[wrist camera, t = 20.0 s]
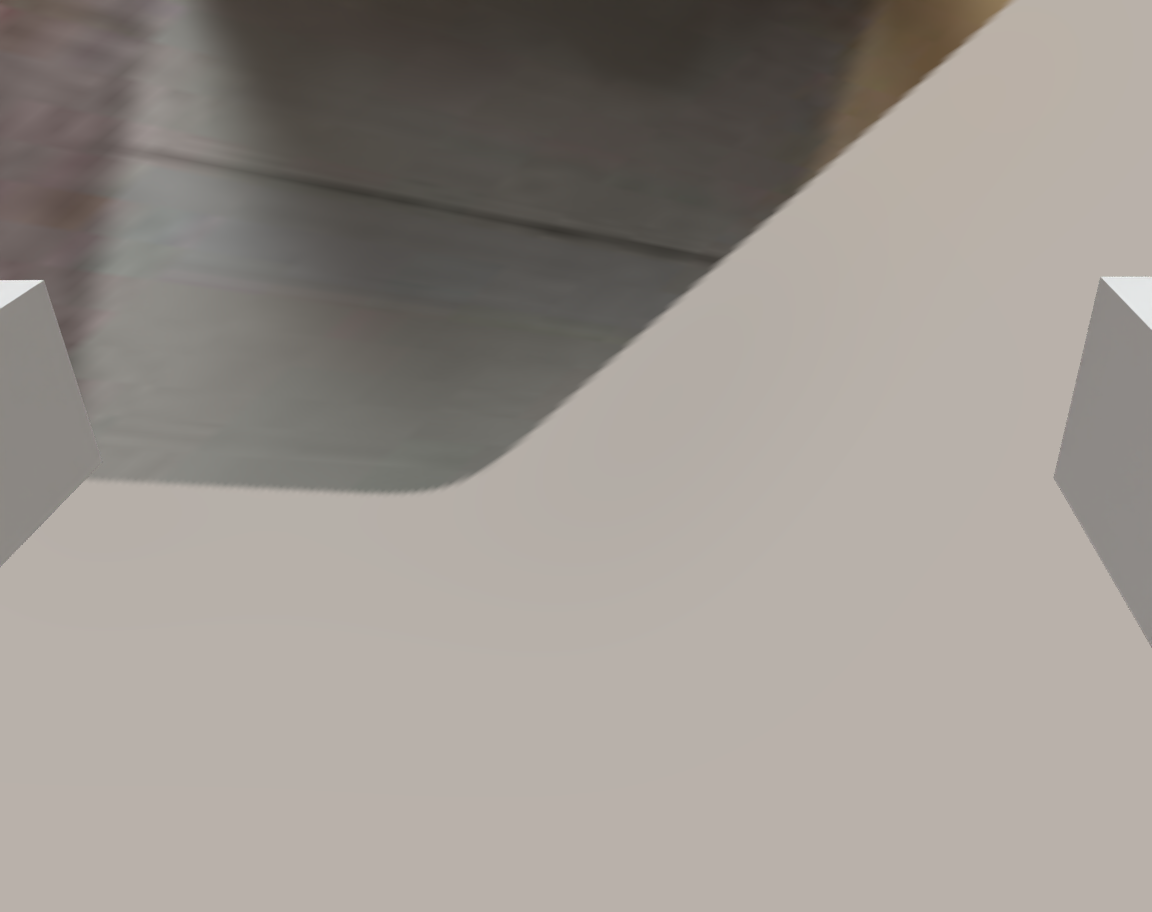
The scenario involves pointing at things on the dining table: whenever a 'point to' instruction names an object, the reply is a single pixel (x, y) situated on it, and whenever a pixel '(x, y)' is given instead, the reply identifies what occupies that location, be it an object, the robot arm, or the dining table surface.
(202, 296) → the dining table surface
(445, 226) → the dining table surface
